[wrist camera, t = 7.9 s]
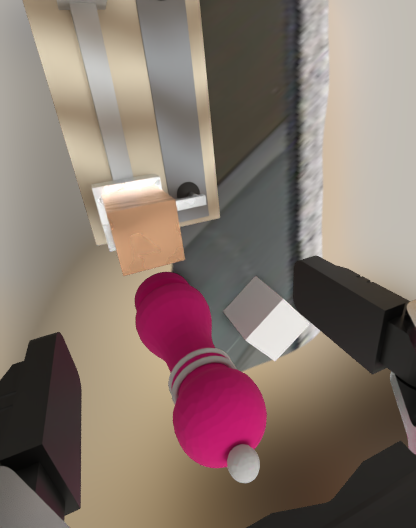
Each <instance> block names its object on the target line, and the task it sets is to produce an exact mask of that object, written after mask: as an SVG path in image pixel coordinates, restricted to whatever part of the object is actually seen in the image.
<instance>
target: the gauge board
mask: <svg viewBox="0 0 416 528" xmlns="http://www.w3.org/2000/svg"><path fill="white" fill-rule="evenodd" d="M23 3H24V7H25V9H26V13H27V17H28V20H29V23H30V26H31V30H32V33H33V36H34V39H35V43H36V46H37V50H38V53H39V56H40V59H41V63H42V66H43V69H44V73H45V76H46V79H47V83H48V86H49V89H50V92H51V96H52V99H53V103H54V106H55V109H56V112H57V116H58V119H59V122H60V126H61V129H62V132H63V136H64V139H65V142H66V145H67V148H68V152H69V155H70V159H71V162H72V165H73V169H74V172H75V175H76V178H77V182H78V185H79V188H80V192H81V195H82V198H83V201H84V205H85V208H86V212H87V215H88V218H89V221H90V225H91V228H92V231H93V235H94V238H95V241H96V245H97V246H99V245H103V244H108V243H107V240H106V236H105V233H104V229H103V226H102V222H101V219H100V215H99V212H98V208H97V205H96V201H95V198H94V194H93V191H92V186H91V184H96V183H101V182H107V181H113V180H119V179H125V178H131V177H137V176H142V175H148V174H156V175H158V176H160V181H161V186H162V190H163V191H164V192H166V193H167V194H169V195H170V196H171V197H173V198H174V199H180V198H185V197H188V194H189V193H190V192H193V193H195V194H197V195H200V194H204V195H205V196H206V205H203V206H198V207H193V208H188V209H184V210H179V211H177V212H178V219H179V225H180V227H182V226H186V225H191V224H195V223H199V222H204V221H208V220H213V219H217V218H220V212H219V201H218V191H217V180H216V170H215V159H214V149H213V138H212V128H211V117H210V107H209V96H208V86H207V75H206V65H205V54H204V44H203V33H202V23H201V12H200V2H199V0H23Z"/></svg>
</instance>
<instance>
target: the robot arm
mask: <svg viewBox="0 0 416 528" xmlns="http://www.w3.org/2000/svg"><path fill="white" fill-rule="evenodd" d="M293 301H294V304H295V307H296V309H297V310H298V312H299V313H300V314H301V315H303V316H304V317H305V318H306V319H307V320H308V321H310V322H311V323H312V324H313V325H314V326H316V327H317V328H318V329H319V330H320V331H322V332H323V333H324V334H325V335H326V336H327V337H329V338H330V339H331V340H332V341H333V342H335V343H336V344H337V345H338V346H339V347H340V348H342V349H343V350H344V351H345V352H346V353H348V354H349V355H350V356H351V357H352V358H353V359H355V360H356V361H357V362H358V363H359V364H361V365H362V366H363V367H364V368H366V369H367V370H368V371H369V372H370V373H371V374H374V373H377V372H379V371H381V370H383V369H385V368H388V369H389V370H391V375H390V381H391V385H392V388H393V391H394V394H395V397H396V401H397V404H398V407H399V410H400V414H401V416H402V420H403V423H404V426H405V430H406V433H407V437H408V444H409V448H407V447H406V445H405V444H403V442H401V441H399V442H397V443H395V444H394V445H392V446H390V447H388V448H387V449H385V450H383V451H381V452H380V453H378V454H376V455H374V456H372V457H371V458H369V459H367V460H365V461H363V462H362V463H361V465H360V466H359V467H358V469H357V470H356V471H355V472H354V474H353V475H352V476H351V477H350V478H349V480H348V481H347V482H346V483H345V485H344V486H343V487H342V488H341V489H340V491H339V492H338V493H337V494H336V496H335V497H334V498H333V499H332V500H331V501H329V502H327V503H324V504H318V505H313V506H307V507H303V508H297V509H292V510H287V511H281V512H276V513H272V514H270V515H268V516H266V517H264V518H263V519H261V520H259V521H257V522H256V523H254V524H252V525H250V526H249V527H247V528H416V299H415V300H412V301H408V300H407V299H404V298H402V297H401V296H399V295H397V294H395V293H393V292H391V291H389V290H387V289H386V288H384V287H382V286H380V285H378V284H376V283H374V282H370V280H368V279H366V278H365V277H360V275H359V274H357V273H355V272H353V271H351V270H349V269H347V268H343V267H340V266H336V265H334V264H332V263H330V262H328V261H326V260H324V259H323V258H321V257H319V256H313V257H309V258H306V259H303V260H299V261H297V262H296V263H295V265H294V279H293ZM80 494H81V383H80V378H79V375H78V371H77V369H76V366H75V364H74V362H73V360H72V357H71V355H70V352H69V350H68V348H67V345H66V343H65V341H64V339H63V336H62V335H61V333H60V332H57V333H54V334H50V335H47V336H43V337H40V338H37V339H34V340H31V341H30V342H29V344H28V348H27V352H26V356H25V360H24V361H22V362H19V363H16V364H13V365H12V366H11V367H10V369H9V370H8V371H7V372H6V374H5V375H4V376H3V378H2V379H1V380H0V528H70V527H69V526H68V525H67V524H66V523H65V522H64V516H65V515H67V514H70V513H72V512H74V511H76V510H78V509H80V503H81V495H80Z"/></svg>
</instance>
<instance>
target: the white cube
mask: <svg viewBox="0 0 416 528" xmlns="http://www.w3.org/2000/svg"><path fill="white" fill-rule="evenodd" d="M223 312H224V313H225V315H226V316H227V317H228V319H229V320H230V321H231V322H232V324H233V325H234V326H235V328H236V329H237V330H238V331H239V333H240V334H241V335H242V337H243V338H244V339H245V340H246V341H247V342H249V343H250V344H251V345H253V346H254V347H256V348H257V349H259V350H260V351H261V352H263V353H264V354H266V355H267V356H268V357H270V358H271V359H273V360H274V361H276V360H277V359H278V358H279V357H280V356H281V354H282V353H283V352H284V351H285V350H286V349H287V348H288V347H289V346H290V345H291V344H292V343H293V342H294V341H295V339H296V338H297V337H298V336H299V335H300V334H301V333H302V332H303V331H304V330H305V329H306V328H307V327H308V326H309V324H310V323H309V322H307V321H306V320H305V319H304V318H303V317H302V316H301V315H300V314H299V313H298V312H297V311H296V310H295V309H294V308H293V307H292V306H290V305H289V304H288V303H287V302H286V301H285V300H284V299H283V298H282V297H281V296H279V295H278V294H277V293H276V292H275V291H273V290H272V289H271V288H270V287H269V286H267V285H266V284H265V283H264V282H263V281H261V280H260V279H259V278H258V277H257V276H255V277H254V278H253V279H252V280H251V281H250V282H249V283H248V285H247V286H246V287H245V288H244V289H243V290H242V291H241V292H240V293H239V294H238V296H237V297H236V298H235V299H234V300H233V301H232V302H231V303H230V304H229V305H228V307H227V308H226V309H225V310H224V311H223Z"/></svg>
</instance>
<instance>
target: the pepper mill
mask: <svg viewBox="0 0 416 528" xmlns="http://www.w3.org/2000/svg"><path fill="white" fill-rule="evenodd" d="M135 307H136V310H137V313H136V329H137V332H138V334H139V337H140V339H141V341H142V342H143V344H144V345H145V346H146V347H147V348H148V349H149V350H150V351H151V352H152V353H154V354H155V355H156V356H158V357H159V358H161V359H163V360H164V361H165V362H166V363H167V365H168V367H169V370H170V372H171V374H170V377H169V383H168V384H169V385H168V386H169V391H170V393H171V395H172V399H173V401H174V404H175V407H174V411H173V425H174V430H175V434H176V437H177V439H178V441H179V443H180V445H181V447H182V448H183V450H184V452H185V453H186V454H187V455H188V456H189V457H190V458H191V459H193V460H194V461H195V462H197V463H199V464H200V465H203V466H206V467H210V468H222V467H228V470H229V472H230V474H231V476H232V477H233V478H234V479H235V480H236V481H238V482H240V483H248V482H251V481H252V480H254V479H255V477H256V476H257V474H258V471H259V468H260V465H259V464H260V463H259V458H258V455H257V453H256V451H255V450H254V449H255V448H256V447H257V445H258V444H259V442H260V440H261V438H262V436H263V434H264V431H265V427H266V417H267V413H266V407H265V402H264V399H263V397H262V394H261V392H260V390H259V389H258V387H257V385H256V384H255V383H254V382H253V380H252V379H251V378H250V377H248V375H246V374H245V373H243V372H241V371H239V370H237V369H236V367H235V365H234V364H233V362H231V359H230V357H229V356H228V355H227V354H226V353H225V352H224V351H222V350H220V349H216V348H215V346H214V345H213V342H212V337H211V327H212V320H211V314H210V310H209V306H208V304H207V302H206V300H205V298H204V297H203V295H202V294H201V293H200V292H199V291H198V290H197V289H195V288H194V287H192V286H190V285H189V284H188V282H187V281H186V280H185V279H184V278H183V277H182V276H180V275H178V274H176V273H172V272H162V273H157V274H154V275H152V276H150V277H149V278H147V279H146V280H145V281H144V282H143V283H142V284H141V285H140V286H139V288H138V290H137V292H136V295H135Z"/></svg>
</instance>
